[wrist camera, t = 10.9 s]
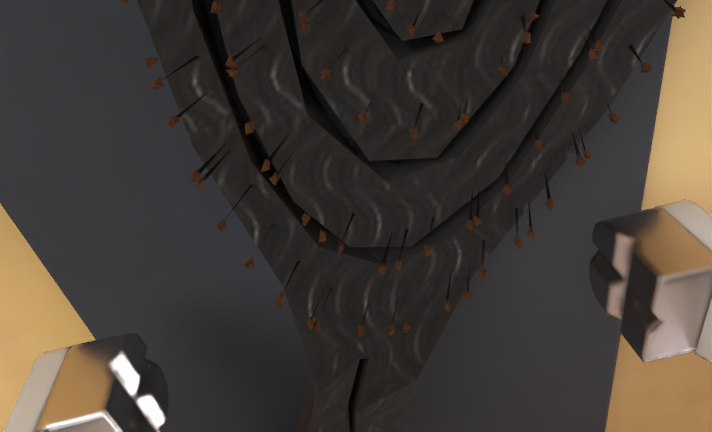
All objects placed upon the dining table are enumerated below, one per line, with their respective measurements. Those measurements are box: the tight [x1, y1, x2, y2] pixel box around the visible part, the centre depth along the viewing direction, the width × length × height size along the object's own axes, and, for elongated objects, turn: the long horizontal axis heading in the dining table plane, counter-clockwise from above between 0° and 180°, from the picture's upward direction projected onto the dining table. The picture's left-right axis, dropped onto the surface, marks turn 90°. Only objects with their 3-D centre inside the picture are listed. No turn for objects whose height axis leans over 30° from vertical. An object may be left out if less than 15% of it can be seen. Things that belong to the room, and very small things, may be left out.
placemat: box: [0, 0, 673, 432], centre depth 11 cm, size 28×12×1 cm, turn 10°
